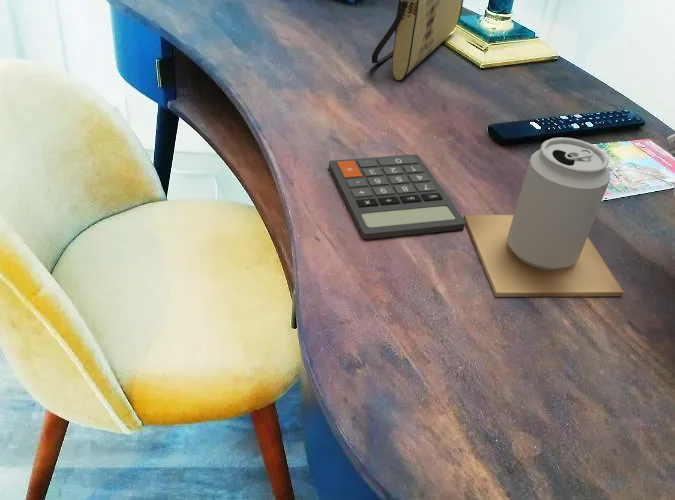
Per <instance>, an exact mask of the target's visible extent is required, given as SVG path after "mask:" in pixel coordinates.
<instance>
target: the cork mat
mask: <svg viewBox="0 0 675 500" xmlns="http://www.w3.org/2000/svg"><path fill="white" fill-rule="evenodd" d="M513 216H514V214H464V215H463V217H462V218H463V219H464V221H465V227H466V229H467V232H468V233H469V236H470V238H471V241H472V243H473V246H474V248H475V251H476V253H477V256H478V258H479V261H480V263H481V265H482V268H483V271H484V273H485V275H486V278H487V280H488V282H489V285H490V287H491V290H492V292H493V294H494V297H495V298H513V297H514V298H533V297H534V298H538V297H539V298H546V297H548V298H550V297H552V298H553V297H555V298H556V297H557V298H558V297H563V298H566V297H571V298H573V297H622V296H623V295H624V292H625V291H623V289H622V287H621V286H620V284H619V282H618V281H617V279H616V277H615V276H614V275H613V273H612V272H611V270H610V268H609V267H608V266H607V264H606V262H605V261H604V259H603V258H602V256H601V255H600V253H599V251H598V249H596V246H595V245H594V243H593V242H592V240H591V239H590V238H589V236H588V237H587V240H586V242H585V245H584V247H583V250H582V252H581V255H580V257H579V259H578V260H577V262H576V263H574V264H572V265H570V266H568V267H563V268H561V269H555V270H545V269H540V268H536V267H533V266H531V265H529V264H526V263H525V262H523V261H522V260H521V259H519V258H518V257H517V255H516V254H515V253H514V252H513V250H512V249H511V248H510V247H509V244H508V241H507V237H508V233H509V229H510V226H511V223H512V219H513Z"/></svg>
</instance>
